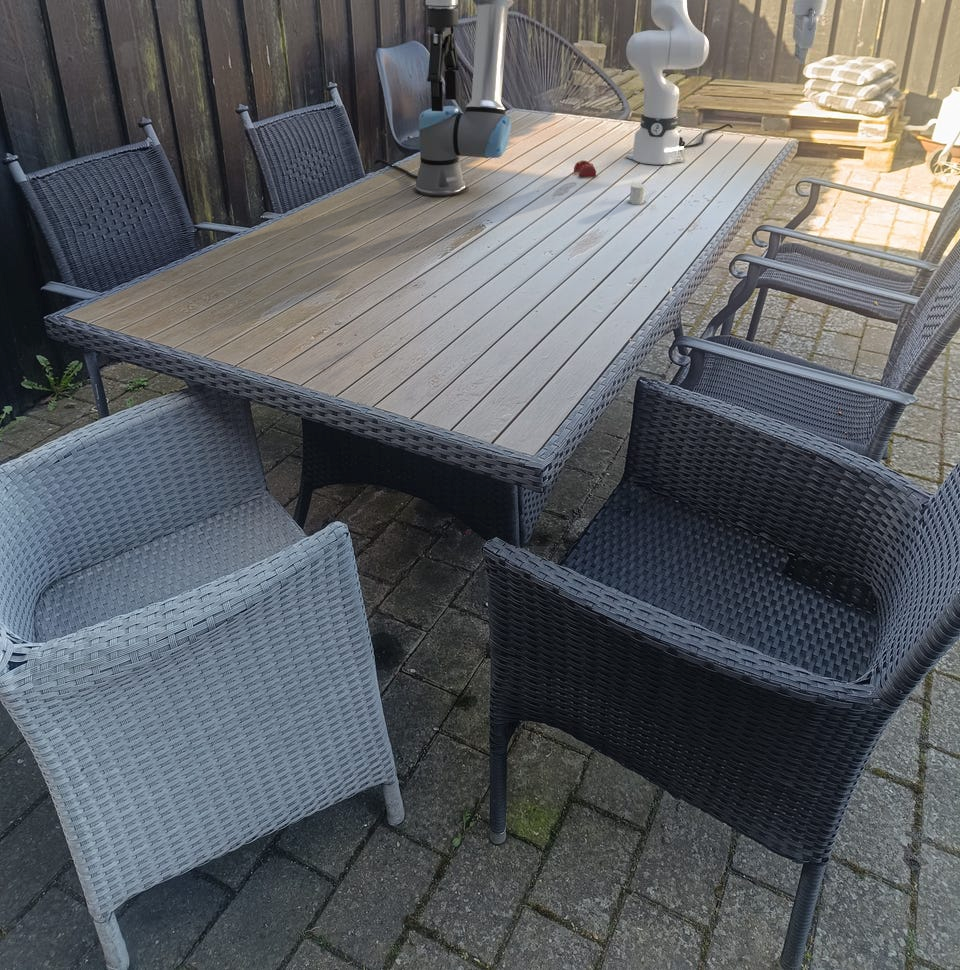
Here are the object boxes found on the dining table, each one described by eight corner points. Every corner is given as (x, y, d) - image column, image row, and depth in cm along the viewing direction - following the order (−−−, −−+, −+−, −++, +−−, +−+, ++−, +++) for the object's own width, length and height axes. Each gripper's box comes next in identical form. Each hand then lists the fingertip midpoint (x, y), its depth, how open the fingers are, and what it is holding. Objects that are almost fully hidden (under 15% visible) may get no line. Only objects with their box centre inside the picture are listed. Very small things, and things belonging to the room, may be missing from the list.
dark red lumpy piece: (589, 157, 273) (597, 163, 266) (588, 170, 275) (597, 177, 269) (572, 158, 272) (581, 165, 265) (572, 172, 274) (580, 179, 268)
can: (641, 204, 246) (643, 188, 244) (627, 203, 248) (629, 186, 245) (644, 200, 250) (646, 184, 247) (631, 199, 251) (632, 182, 248)
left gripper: (444, 14, 185) (446, 116, 198) (469, 1, 205) (470, 95, 218) (411, 13, 187) (416, 115, 199) (439, 0, 207) (442, 94, 219)
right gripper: (825, 11, 231) (814, 67, 239) (816, 3, 247) (805, 55, 255) (801, 11, 232) (791, 66, 240) (794, 3, 248) (784, 55, 256)
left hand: (444, 105), depth 208 cm, fingers open, 13 cm apart
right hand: (798, 61), depth 248 cm, fingers open, 8 cm apart
